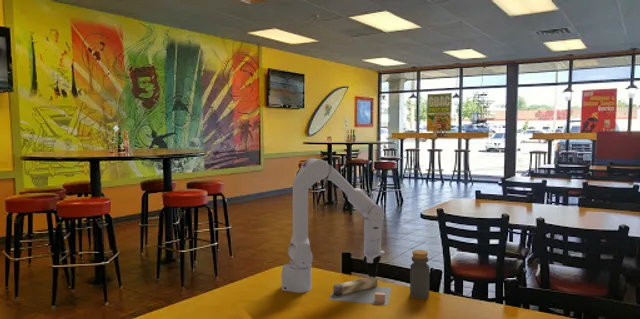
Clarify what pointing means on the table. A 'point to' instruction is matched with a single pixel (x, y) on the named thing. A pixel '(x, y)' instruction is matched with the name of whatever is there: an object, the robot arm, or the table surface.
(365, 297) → the stool seat
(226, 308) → the table surface
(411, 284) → the bottle
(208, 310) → the table surface
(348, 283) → the stool leg
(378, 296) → the leg stop
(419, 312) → the table surface
